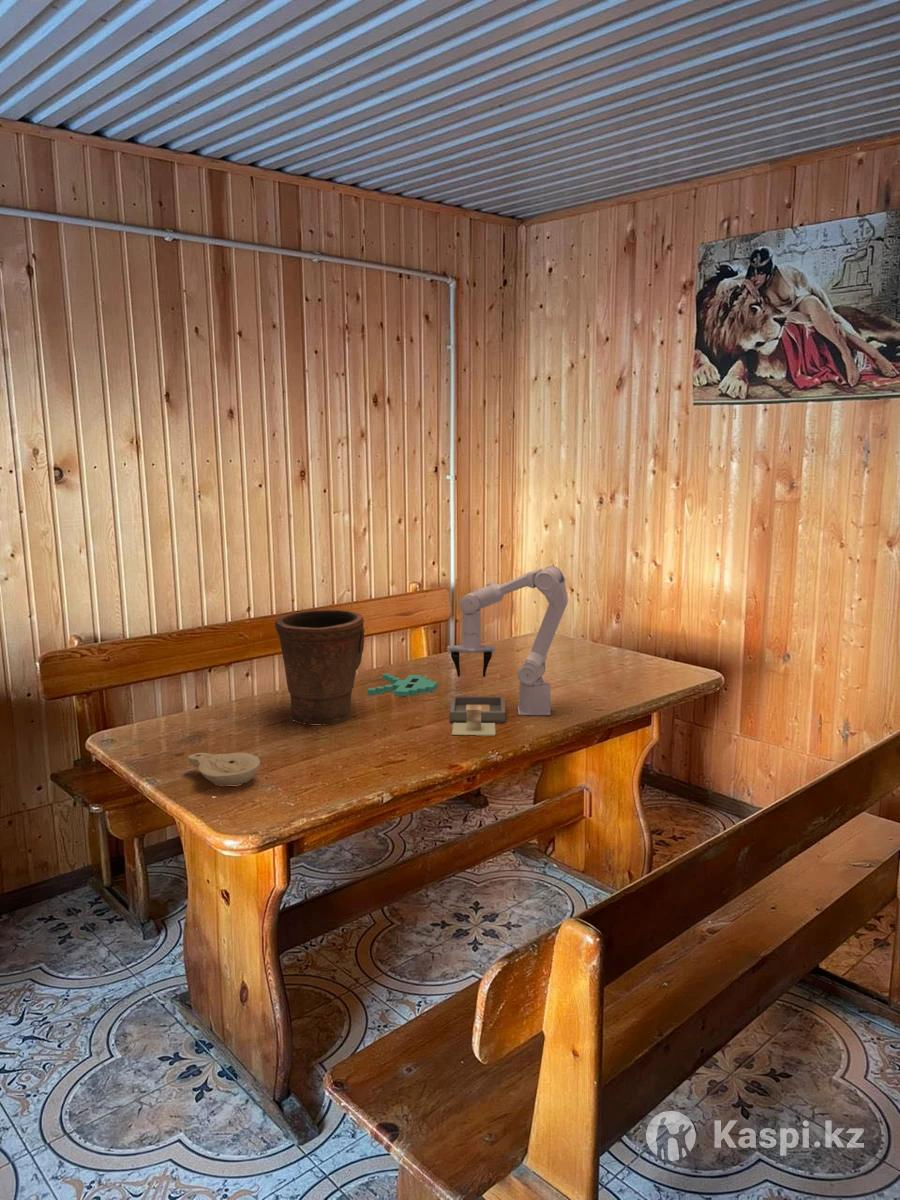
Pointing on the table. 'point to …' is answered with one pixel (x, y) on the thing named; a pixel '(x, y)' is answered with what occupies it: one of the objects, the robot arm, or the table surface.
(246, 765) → the oil lamp
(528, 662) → the robot arm
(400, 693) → the alien figure
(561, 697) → the table surface
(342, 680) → the clay pot
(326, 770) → the table surface
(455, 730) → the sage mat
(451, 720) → the box
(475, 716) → the brown block
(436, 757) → the table surface
